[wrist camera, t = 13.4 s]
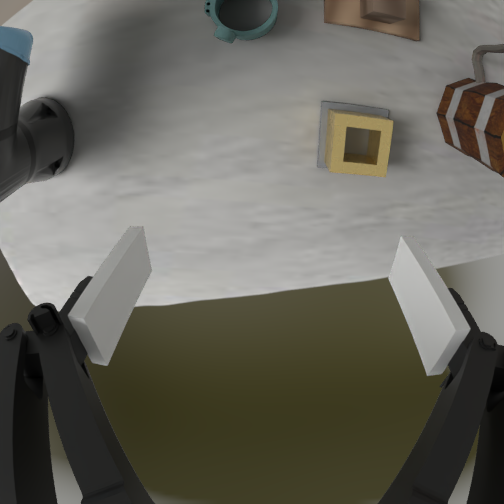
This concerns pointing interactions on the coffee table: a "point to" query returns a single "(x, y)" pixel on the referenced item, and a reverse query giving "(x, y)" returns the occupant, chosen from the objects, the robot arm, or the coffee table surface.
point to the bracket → (229, 35)
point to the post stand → (376, 15)
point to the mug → (475, 115)
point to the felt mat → (354, 136)
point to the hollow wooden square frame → (376, 149)
